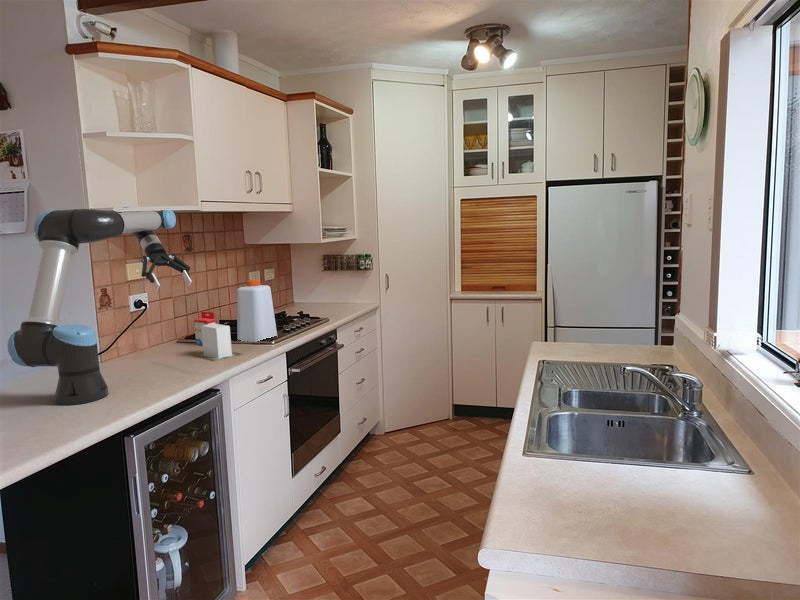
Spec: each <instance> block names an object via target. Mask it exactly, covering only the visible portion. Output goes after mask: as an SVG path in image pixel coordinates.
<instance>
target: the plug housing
mask: <svg viewBox="0 0 800 600" xmlns="http://www.w3.org/2000/svg"><path fill="white" fill-rule="evenodd" d="M201 328H202V339H203V345H202V349H203V354H204V355H207V356H211V357H215V358H222V357H227V356H231V355H232V352H233V350H232V338H231V327H230V325H227V324H226V325H225V324H220V323H215V324H209V325H203V326H201Z"/></svg>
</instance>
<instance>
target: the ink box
mask: <svg viewBox="0 0 800 600" xmlns="http://www.w3.org/2000/svg"><path fill="white" fill-rule="evenodd" d="M200 316H201V317H199V318H194V320H193V321H194V322H193V323H194V333H195V335H194V336H195V345H197V346H203V339H202V328H201V326H203V325H209V324H216V319H215V312H214V311H213V312H212V311H200Z"/></svg>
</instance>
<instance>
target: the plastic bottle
mask: <svg viewBox="0 0 800 600" xmlns="http://www.w3.org/2000/svg"><path fill="white" fill-rule="evenodd" d="M271 289H272V288H271V287H270V285H267V284H266V285H263V284H261V280H260V279H248V280H246V285H245V286H241V287H238V288H237V289H236V307H237V308H236V314H237V315H236V320H237V321H236V322H237V324H236V327H237V329H236V331H237V337H236V338H237V339H238V340H241V341H245V342H247V341H248V342H257V341H260V340H263V339H266V338H271V337H274V336H277V337H278V331H277V323H276V318H275V317H276V316H275V310H274V302H273V296H272V290H271ZM238 340H237V341H238Z"/></svg>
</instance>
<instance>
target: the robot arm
mask: <svg viewBox="0 0 800 600" xmlns="http://www.w3.org/2000/svg"><path fill="white" fill-rule="evenodd" d="M122 208H130V207H128V206H124V207H122ZM160 210H161V211H154V210H138V211H139V212H122V213H118V211H117V210H112V209H111V210H107V209H106V210H103V209H92V208H74V209H73V208H72V209H52V210H46V211H44V212H42V213H40V214H39V215H38V216H37V217H36V219H35V222H34V226H33V232H34V233H35V234H34V236H35V239H36V240H37V241H38V242H39V243H38V245H39V247H40V248H41V249H42V253H41V258H40V261H39V267H38V272H37V277H36V281H35V286H34V290H33V294H32V299H31V304H30V309H29V313H28V317H27V318H26V319H24V320H23V321H21V323H20V328H19V329H18V330H16V331H14V332H12V334H11V335H9V338H8V340H7V352H8V354H9V356H10V357H11V360H12V361H13V362H14V363H15V364H17V365H18V366H21V367H30V368H38V367H57V372H58V380H57V385H56V389H55V393H54V399H55V400H54V401H55V403H56V404H58V405H65V406H66V405H67V406H71V405H79V404H80V405H81V404H86V403H91V402H95V401H98V400H101V399H104V398H105V397H107V396H108V395H109V393H110V392H109V387H108V384H107V382H106V381H105V379H104V377H103V375H102V373H101V368H100V359H99V349H98V338H97V334H96V331H95V329H94V328H93V327H92V326H89V325H85V324H63V325H62V324H60V323H59V320H60V316H61V311H62V306H63V301H64V298H65V297H64V296H65V291H66V286H67V281H68V277H69V272H70V266H71V260H72V256H73V255H75V254H77V253H78V251H79V247H80V244H92V243H96V242H101V241H105V240H109V239H115V238H118V237H119V238H120V236H121V235H123V234H129V233H130V234H132V235H133V236H134V237H135V238H136V240H137V241H138V243H139V244H140V247H141V248H142V250H143V252H144V254H145V255H143V256H142V259H141V262H142V267H141V268H142V269H141V277H142V278H144V277H145V278H146V280H149V283H151V284H152V285H153V287H154V288H155V290H156V291H158V290H159V289H160V288H161V285H160V282H159V281H158V278H157V277H156V275H155V273H154V270H155V268H156V266H157V267H164V266H165V267H168V268H169V267H170V268H172V269H174V270H175V271H177V272H179V273H181V276H182V277H183V279H184V281H185V283H186V285H187V286H188V287H191V284H192V283H193V281H192V279H191V275H190V273H189V272H190V270H191V266H190V265H188V264H187V263H186V262H184V261H183V260H182V259H180V258H179V257H177V254H175V253H171V255H170V254H169V255H168V254H167V251H166V249H165V247H164V246H163V244H162V242H161V240H160V239H159V237H158V235H157V233H156V232H155V230H156V231H157V230H167V229H173V228H175V226H176V222H177V218H176V214H175V212H174V211H173V210H172V209H160ZM148 262H149V263H151V266H150V268H149V270H148V271H147V267H148Z"/></svg>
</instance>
